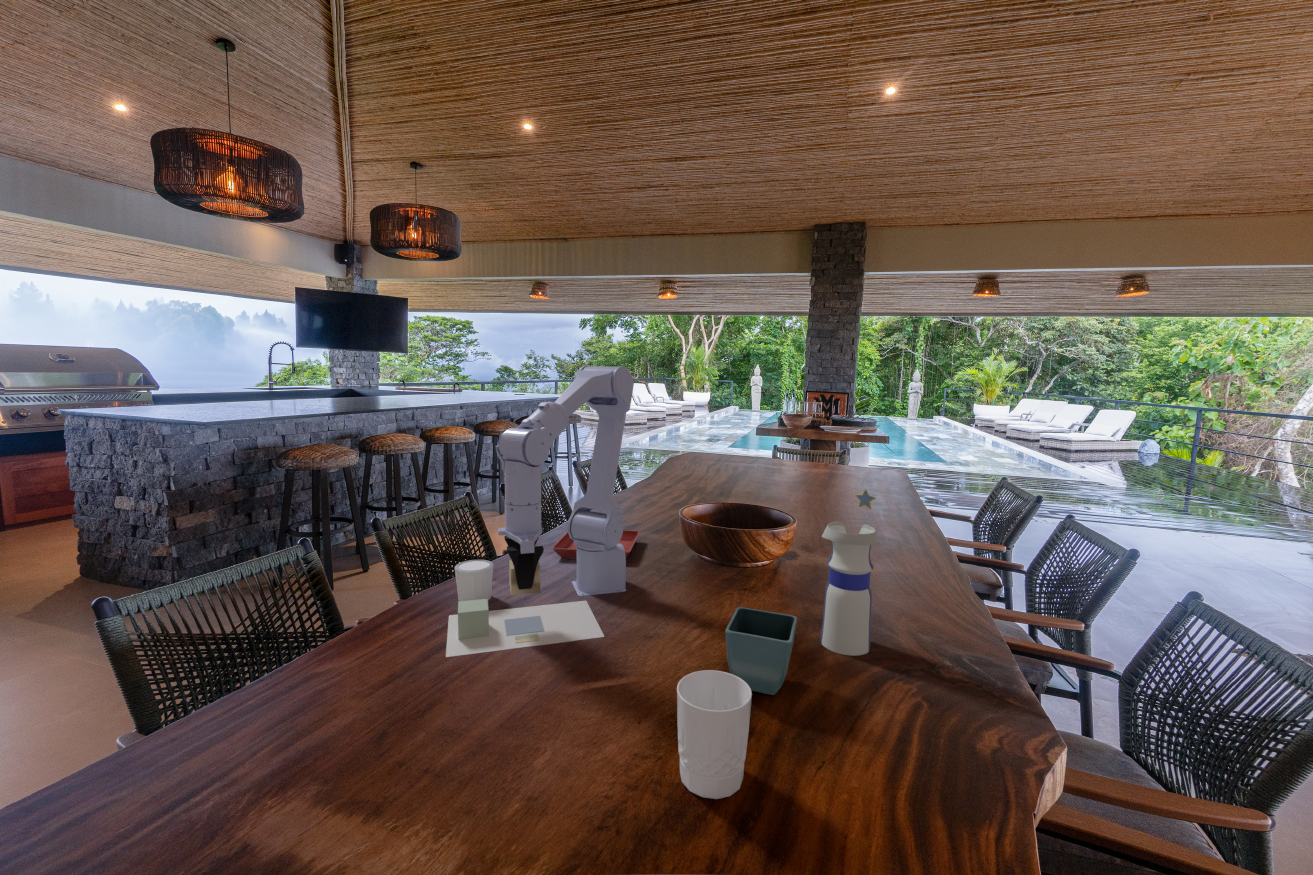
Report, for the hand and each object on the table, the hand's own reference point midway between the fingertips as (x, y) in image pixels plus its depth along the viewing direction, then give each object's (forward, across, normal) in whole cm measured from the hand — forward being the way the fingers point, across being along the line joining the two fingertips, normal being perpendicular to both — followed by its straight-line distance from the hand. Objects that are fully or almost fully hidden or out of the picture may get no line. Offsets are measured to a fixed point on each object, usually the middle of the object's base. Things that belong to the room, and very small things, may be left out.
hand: (523, 582), depth 94 cm
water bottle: (+8, +19, +49) cm, 53 cm away
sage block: (+8, 0, -8) cm, 11 cm away
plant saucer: (+9, -38, +21) cm, 44 cm away
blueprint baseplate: (+8, 0, 0) cm, 8 cm away
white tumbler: (+8, -14, -8) cm, 18 cm away
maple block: (+1, 0, 0) cm, 1 cm away
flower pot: (+8, +26, +30) cm, 41 cm away
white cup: (+8, +41, +16) cm, 45 cm away
